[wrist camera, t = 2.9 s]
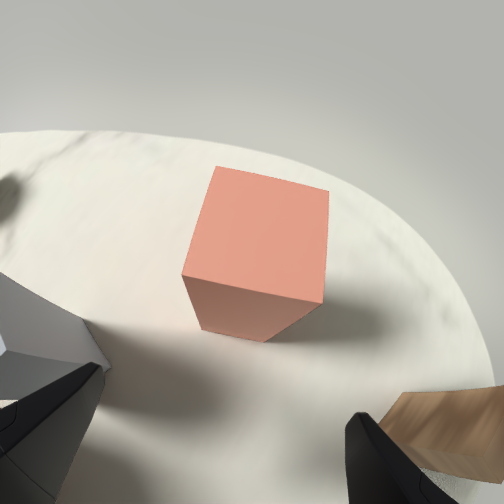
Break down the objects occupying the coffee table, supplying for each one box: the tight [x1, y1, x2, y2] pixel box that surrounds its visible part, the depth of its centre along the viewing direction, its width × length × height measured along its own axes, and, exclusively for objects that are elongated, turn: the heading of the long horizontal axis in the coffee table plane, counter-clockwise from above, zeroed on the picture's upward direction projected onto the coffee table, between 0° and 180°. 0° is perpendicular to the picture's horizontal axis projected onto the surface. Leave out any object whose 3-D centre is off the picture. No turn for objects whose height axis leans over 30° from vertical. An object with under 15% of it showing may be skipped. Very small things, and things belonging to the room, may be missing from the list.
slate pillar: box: [0, 272, 112, 400], centre depth 13 cm, size 5×5×13 cm
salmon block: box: [181, 166, 329, 342], centre depth 16 cm, size 5×5×13 cm
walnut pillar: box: [378, 385, 504, 484], centre depth 13 cm, size 5×5×13 cm
